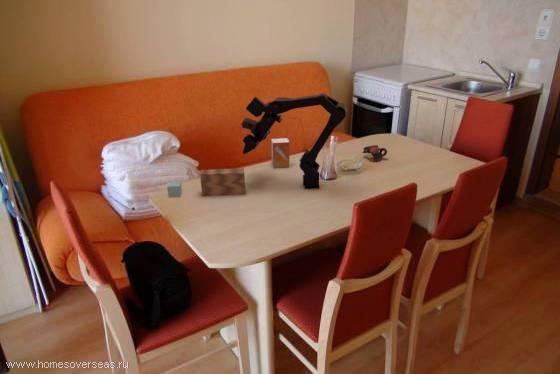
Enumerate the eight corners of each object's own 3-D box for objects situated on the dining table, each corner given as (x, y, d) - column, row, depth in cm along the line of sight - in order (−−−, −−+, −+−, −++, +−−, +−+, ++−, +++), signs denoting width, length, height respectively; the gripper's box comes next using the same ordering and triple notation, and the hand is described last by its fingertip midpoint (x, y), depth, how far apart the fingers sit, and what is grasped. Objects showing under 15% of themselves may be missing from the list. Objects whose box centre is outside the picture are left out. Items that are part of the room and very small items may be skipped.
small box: (273, 168, 209) (272, 142, 203) (271, 163, 215) (271, 138, 209) (289, 167, 210) (289, 141, 204) (287, 162, 215) (287, 137, 210)
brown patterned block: (245, 189, 188) (244, 168, 184) (245, 194, 183) (244, 172, 179) (203, 191, 187) (201, 169, 183) (202, 196, 182) (200, 174, 178)
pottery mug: (364, 163, 215) (361, 147, 216) (365, 165, 224) (362, 149, 225) (388, 158, 212) (385, 142, 213) (389, 160, 221) (386, 144, 222)
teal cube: (182, 192, 186) (181, 181, 184) (180, 197, 182) (179, 186, 180) (170, 192, 186) (169, 181, 184) (168, 197, 181) (167, 186, 179)
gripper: (258, 106, 191) (240, 132, 199) (242, 118, 175) (224, 145, 183) (278, 121, 191) (260, 147, 199) (264, 135, 175) (245, 162, 183)
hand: (247, 150), depth 191 cm, fingers open, 9 cm apart
